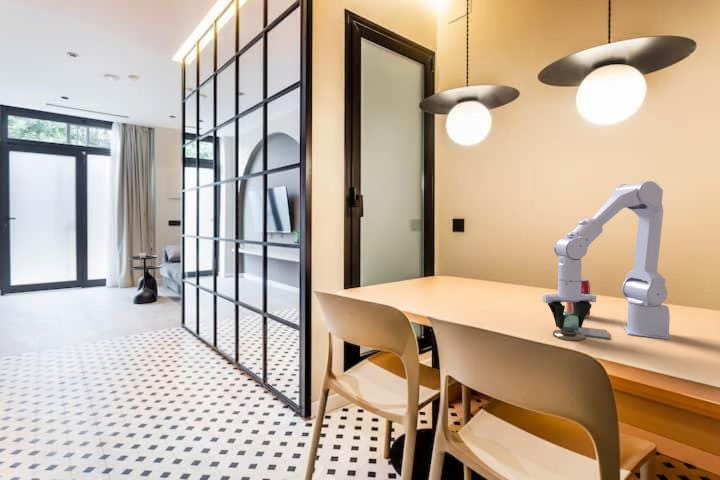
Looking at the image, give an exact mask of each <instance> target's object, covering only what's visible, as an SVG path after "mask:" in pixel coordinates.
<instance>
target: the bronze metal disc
mask: <svg viewBox="0 0 720 480" xmlns="http://www.w3.org/2000/svg"><path fill="white" fill-rule="evenodd" d="M552 336H553V337H554V338H556V339H558V340H562V341H569V342H581V341H584V340H586V339H585V338H586V337H585V335H584V334H582V333H580V332H569V331H564V330H561V329H555V330H553V331H552Z"/></svg>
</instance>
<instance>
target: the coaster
mask: <svg viewBox="0 0 720 480" xmlns="http://www.w3.org/2000/svg"><path fill="white" fill-rule="evenodd" d="M577 332H580V333H582V334H584V335H585V338H593V339H600V340H601V339H602V340H610V338H611V337H610V335H609V333H608V330H607V329H601V328H592V327H583V326H582V328H579V331H577Z"/></svg>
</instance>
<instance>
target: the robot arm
mask: <svg viewBox="0 0 720 480" xmlns="http://www.w3.org/2000/svg"><path fill="white" fill-rule="evenodd" d="M663 192H664V190H663V189H662V187H661V186H660V185H658V184H657V183H656V182H655V181H651V180H648V181H644V182H634V183H623V184H620V185H619V186H617V187H616V189H615V190H613V191H612V192H611V196H610V197H609V198H608V199H607V201H606V202H605V203H604V204H603V205H602V206H601V207H600V209H599V210H598V211H596V213H595V214H594V215H593V216H592V217H591V218H585V219H583V220H582V219H581V220H580V221H578V225H577V226H576V227H575V228H574V229H573V230H572V231H571V232H568V233H567V235H566V237H563V238H561V239H559V240H558V241H557V243H556V244H555V246H554V247H553V251H554V253H555V255H556V256H557V262H558V264H557V265H558V267H557V269H558V270H557V275H558V277H557V293H553V294H551V293H550V294H543V295H541V296H542V299H541V300H542V303H545V304H547V306H548V307H549V308H550V311H551V313H552V315H553V319H554V322H555V327H556V328H558V329H559V328H562V326H563V313H564V311H565V309H566V305H564V304H563V303H566V302H573V306H574V313H577V314H579V328H582V327H583V324H584V321H585V319H586V318H585V316H586V314H587V312H588V311H589V310H590V311H591V308H592V303H597V295H595V294H592V293H590V294H581V278H582V258H583V257H586V256H587V253H588V248H589V247H590V245H591V244H592V243H593V242H594V241H595V240H596V239H597V238H598V237H599V236H600V235H601V234H603V231H604V229H603V226H604V225H605V224H606V223H608V222H610V220H611V219H613V218H614V217H615V216H616V215H617V214H618V213H619V212H620V211H621V210H623V209H624V208H626V209H628V210H630V211H632V212H634V213H635V214H636V215H637V216H638V221H637V229H636V230H637V231H636V240H635V241H636V242H635V250H634V259H633V268H632V269H631V270H629V271H628V273H626V274H625V280H624V281H623V283H622V285H621V292H622V295H623V296H624V297H625V298H626V299H625V300H626V302H627V325H625V326H623V328H624V330H625V331H626V334H627V335H630V336H638V337H639V336H640V337H647V338H648V337H649V338H657V339H662V340H663V339H665V340H669V339H670V323H671V322H670V318H671V317H670V308H669V306H668V305H666V304H663V303H664V302H665V301H666V300H667V297H668V290H667V287H666V279H665V277H663V276H662V274H660V273H659V272H658V266H659V255H660V248H661V247H660V246H661V238H662V227H663V218H664V207H663V203H662V202H663V194H664V193H663ZM589 302H590V303H589Z"/></svg>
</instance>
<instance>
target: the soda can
mask: <svg viewBox="0 0 720 480" xmlns="http://www.w3.org/2000/svg"><path fill="white" fill-rule="evenodd" d="M581 294H591V283H590V282H589V279H588V278H584V277H581ZM565 303H566V305H565V309H566V311H565V312H574V306H573V302H565ZM589 303H590V304H591V302H589ZM590 315H591V309H590V310H589V311H588V312H587V314H586V316H585V318H584V319H586V318H589V316H590Z"/></svg>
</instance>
